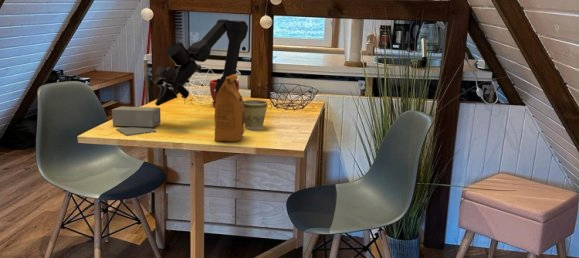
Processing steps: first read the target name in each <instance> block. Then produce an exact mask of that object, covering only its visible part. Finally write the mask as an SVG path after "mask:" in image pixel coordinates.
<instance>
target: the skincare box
mask: <svg viewBox="0 0 579 258" xmlns="http://www.w3.org/2000/svg"><path fill="white" fill-rule="evenodd" d="M111 115H112V116H111V117H112V126H114V127H149V128H153V127H156V126H158V125H160V124H161V121H162V120H161V107H150V106H149V107H148V106H147V107H146V106H123V105H122V106H118V107H116V108H113V109H111Z"/></svg>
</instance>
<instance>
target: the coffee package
mask: <svg viewBox="0 0 579 258" xmlns="http://www.w3.org/2000/svg"><path fill="white" fill-rule="evenodd" d="M238 79H239V78H238V76H237V74H233V75H231V76H228V77H226V79H225V82H224V83H223V85H222V86H221V88H220V89H219V91H218V94H217V97H216V104H215V106H214V141H215V142H237V141H238V142H239V141H240V139H241V138H242V137H243V135H244V133H245V124H244V103H243V101H244V100H243V96H242V95H241V93H240V90H239V91H238V90H237V88H236V85H235V82H234V81H235V80H238Z"/></svg>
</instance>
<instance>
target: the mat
mask: <svg viewBox="0 0 579 258" xmlns="http://www.w3.org/2000/svg"><path fill="white" fill-rule="evenodd" d="M115 131H116V132H118V133H120V134H123V135H124V136H127V137H128V136H135V135H136V134H137V135H143V134H144V133H145V134H151V132H153V133H157V130H156V129H153V128H152V127H134V126H127V127H121V128H116V129H115ZM145 134H144V135H145ZM137 135H136V136H137Z"/></svg>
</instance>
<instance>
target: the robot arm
mask: <svg viewBox="0 0 579 258" xmlns="http://www.w3.org/2000/svg"><path fill="white" fill-rule="evenodd" d="M248 30H249V25H248V24H247V23H246V21H245V20H229V19H224V18H222V19H218V20H217V21H216V23H215V24H214V25H213V27H212V28H210V30H209V31H208V32H207V33H206V34H205V35H204V36H203V37H202V38H201V40H199V41H196V42H194V43H192V44H191V45H190V46H188V48H186V47H185V46H184V44H183V43H182V42H181V41H180V42H179V41H177V42H176V43H175V44H172V45H171V46H170V47H168V49H167V51H166V55H167V56H168V57H169V59H170V60H171V61H172V62H173V63H174V64H175V65H176V66H177V68H176V69H174V68H172V67H170V66H168V67H162V66H158V67H157V68H156V72H155V73H154V74H155V75H157V76H160V77H156V78H155V80H153V82H154V84H155V85H156V86H157V87H159V89H160V91H159V94H158V97H157V98H156V101H155V103H154V104H155V105H156V106H157V107H159V106H161V105H164V104H165V103H167V102H169V101H172V100H175V99H178V95H179V94H180V96H181V98H182V99H184V100H187V98H188V97H190V91H189V89H187V88H186V87H185V86H184V85H186V84H189V83H190V78H192V77H193V75H194V74H195V72H198V73H200V74H202V65H200V64H198V63H197V62H200V63H205V62H206V61H207V59H208V58H209V56H210V55H211V51H212V48H213V47H214V46H215V44H217V42H218V41H219V40H221V38H222V37H223V36H224V35H225V33H226V37H227V39H228V44H227V50H226V55H225V56H226V57H225V62H224V68H223V73H222V76H221V77H220V78H217V79H216V80H217V84H216V87H215V88H216V93H217V94H218V91H219V89H220V88H221V86H222V85H223V83H224V82H225V79H226V77H228V76H231V75H233V74H235V75H237V74H236V73H237V68H238V64H239V63H238V62H239V56H240V52H241V45H242V43H243V41H244V40H245V39H246V37H247V34H248ZM236 80H237V79H236ZM236 80H235V81H234V82H235V85H236V88H237V82H236Z"/></svg>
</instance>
